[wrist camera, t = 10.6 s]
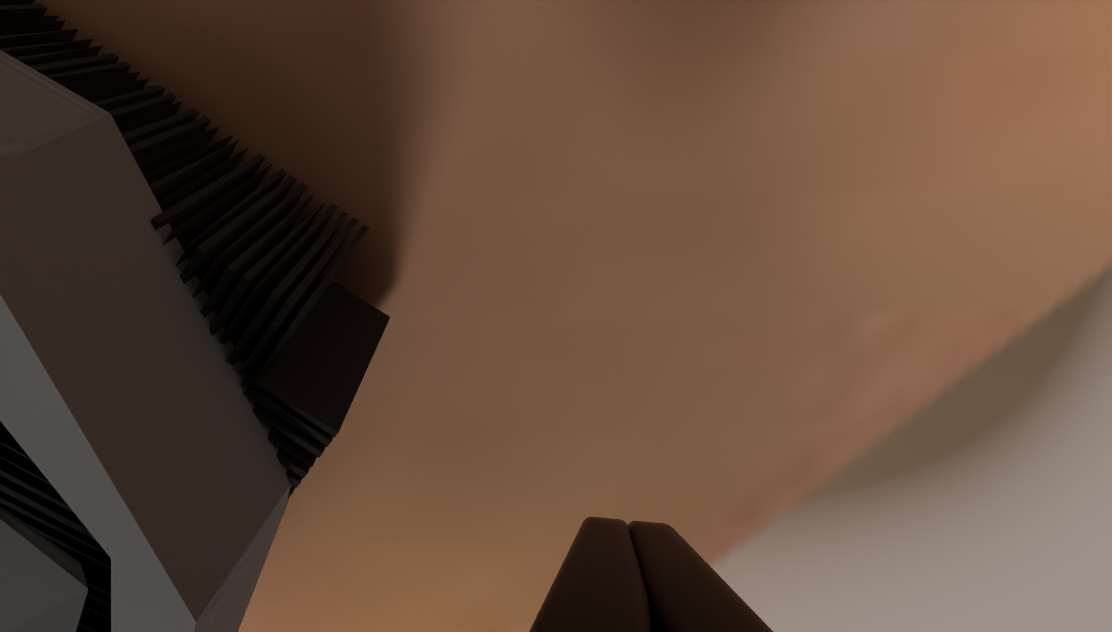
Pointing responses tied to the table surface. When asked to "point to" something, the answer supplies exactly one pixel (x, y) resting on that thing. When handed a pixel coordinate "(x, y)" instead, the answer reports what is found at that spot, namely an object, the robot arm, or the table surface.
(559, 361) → the table surface
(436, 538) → the table surface
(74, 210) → the cpu cooler
